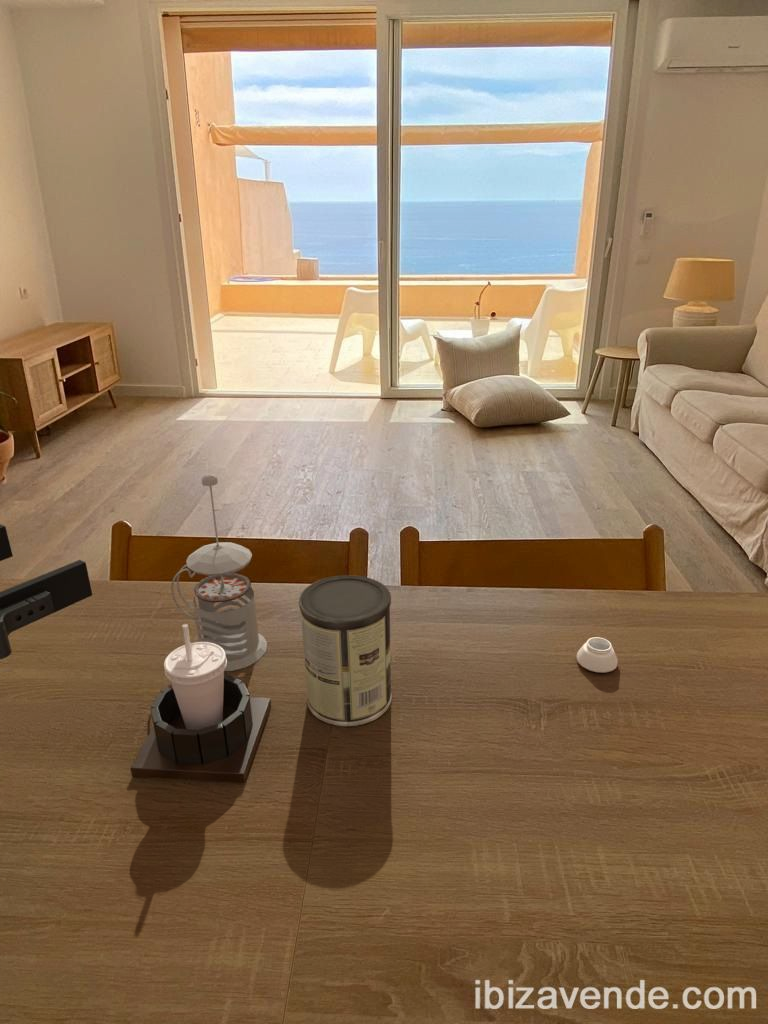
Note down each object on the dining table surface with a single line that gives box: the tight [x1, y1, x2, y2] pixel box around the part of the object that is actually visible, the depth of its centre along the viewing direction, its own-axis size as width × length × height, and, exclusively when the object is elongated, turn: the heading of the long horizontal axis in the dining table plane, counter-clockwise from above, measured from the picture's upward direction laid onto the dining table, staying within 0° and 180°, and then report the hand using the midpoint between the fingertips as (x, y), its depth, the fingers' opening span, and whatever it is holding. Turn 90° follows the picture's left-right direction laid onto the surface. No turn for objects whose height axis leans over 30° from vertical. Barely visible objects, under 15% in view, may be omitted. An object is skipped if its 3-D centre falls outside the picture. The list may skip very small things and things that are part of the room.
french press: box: [170, 473, 268, 672], centre depth 88 cm, size 10×12×25 cm
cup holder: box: [130, 672, 272, 783], centre depth 76 cm, size 12×12×5 cm
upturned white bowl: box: [576, 636, 619, 673], centre depth 89 cm, size 5×3×5 cm
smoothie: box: [163, 623, 227, 730], centre depth 74 cm, size 6×6×14 cm
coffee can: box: [298, 574, 393, 727], centre depth 80 cm, size 10×10×14 cm
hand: (44, 557), depth 54 cm, fingers open, 11 cm apart
